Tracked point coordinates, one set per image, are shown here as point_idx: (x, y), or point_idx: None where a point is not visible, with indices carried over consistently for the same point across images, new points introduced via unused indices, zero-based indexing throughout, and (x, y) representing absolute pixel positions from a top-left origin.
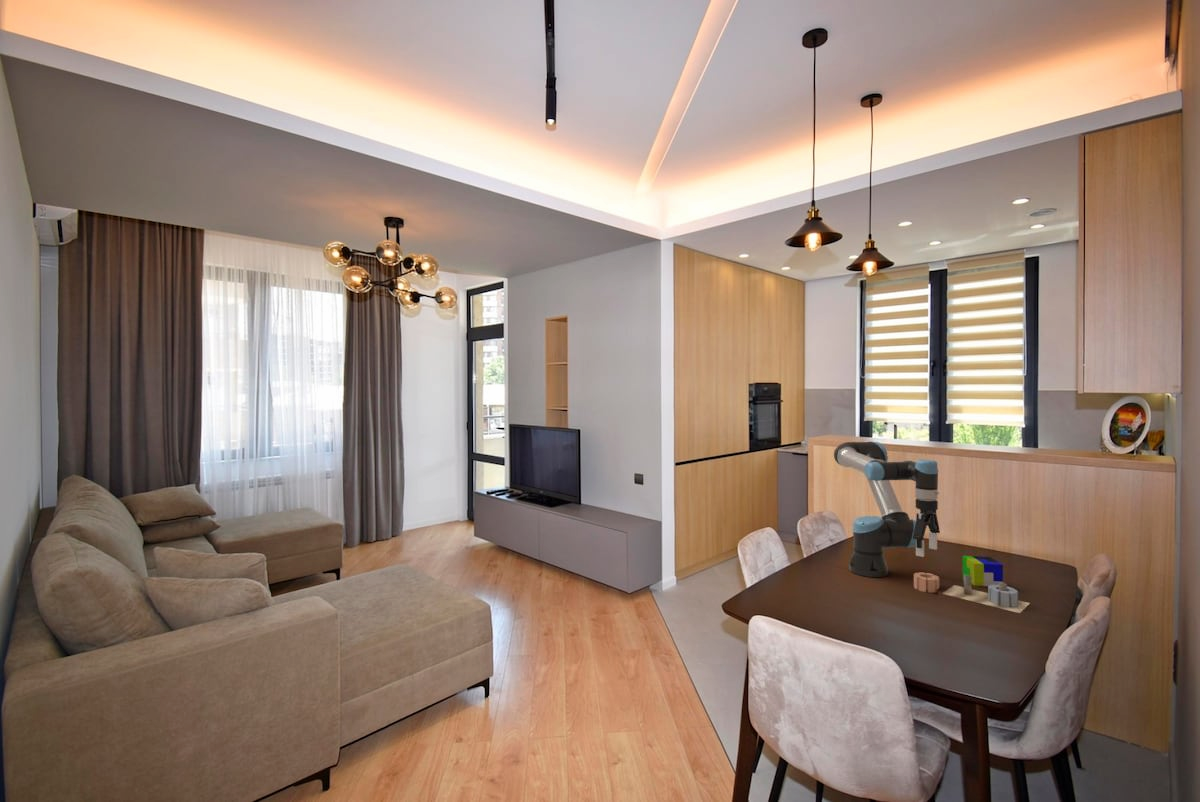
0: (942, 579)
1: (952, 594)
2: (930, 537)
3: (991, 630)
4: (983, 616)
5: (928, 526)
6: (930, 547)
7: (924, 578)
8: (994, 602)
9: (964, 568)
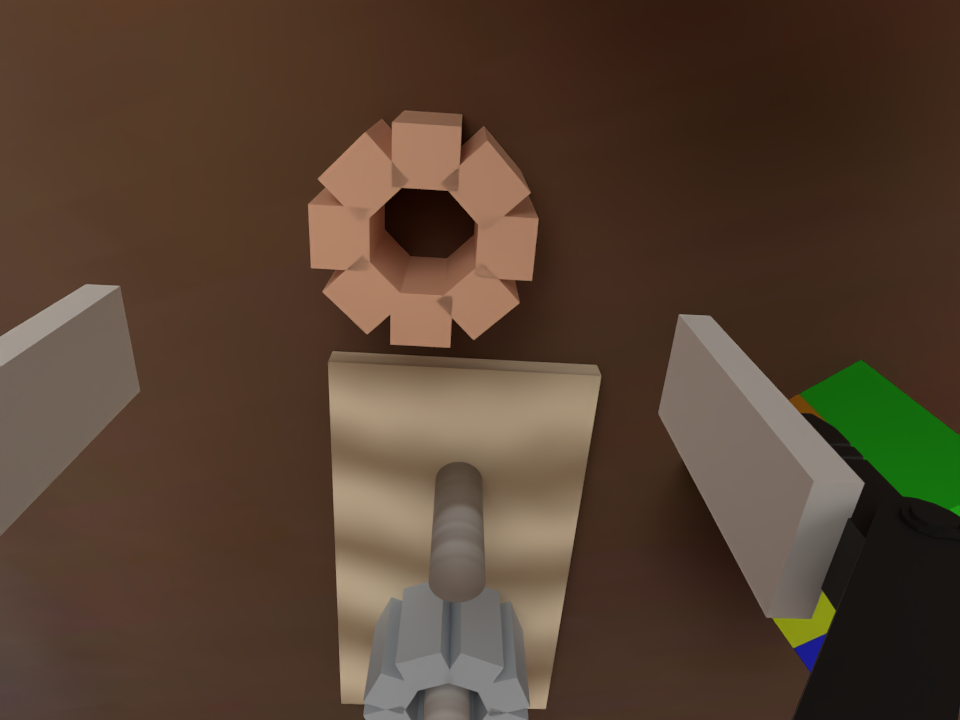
0: (774, 245)
1: (367, 417)
2: (751, 438)
3: (23, 641)
4: (187, 586)
5: (826, 643)
6: (680, 342)
7: (330, 252)
8: (382, 620)
9: (893, 430)
